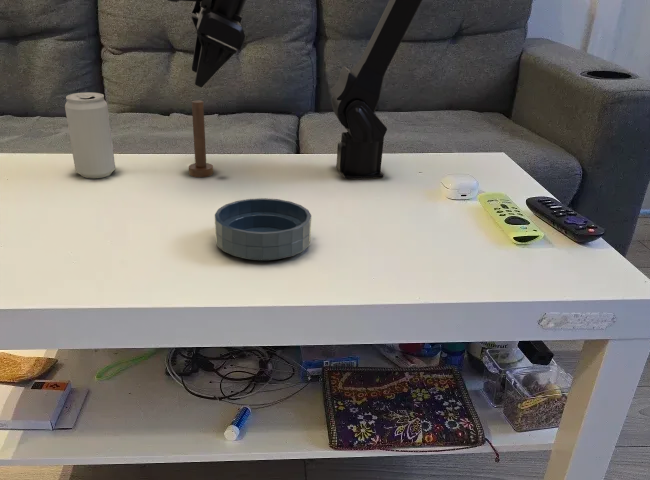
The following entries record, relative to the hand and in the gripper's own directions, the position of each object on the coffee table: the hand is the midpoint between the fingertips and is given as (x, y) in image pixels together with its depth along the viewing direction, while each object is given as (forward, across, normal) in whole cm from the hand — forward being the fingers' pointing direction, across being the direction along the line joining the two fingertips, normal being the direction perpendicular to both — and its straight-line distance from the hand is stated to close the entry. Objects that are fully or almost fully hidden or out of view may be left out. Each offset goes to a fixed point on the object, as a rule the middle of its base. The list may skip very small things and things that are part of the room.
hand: (196, 78), depth 101 cm
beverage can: (+20, -2, -10) cm, 23 cm away
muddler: (+13, 0, +6) cm, 15 cm away
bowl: (+10, +30, +11) cm, 33 cm away
